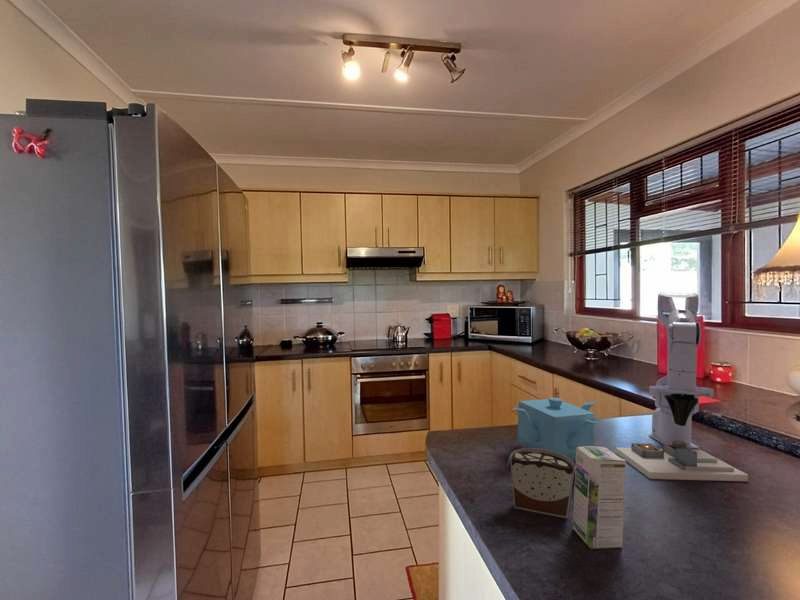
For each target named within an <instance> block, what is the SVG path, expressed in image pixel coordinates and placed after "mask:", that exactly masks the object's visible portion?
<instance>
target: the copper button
mask: <svg viewBox="0 0 800 600" xmlns="http://www.w3.org/2000/svg"><path fill="white" fill-rule="evenodd" d="M648 444H649V443H643V444H641V445H640V447H641V448H642V449H644V450H655V447H654V446H655V445H654V446H652V445H653V444H652V445H648Z"/></svg>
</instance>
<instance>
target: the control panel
mask: <svg viewBox="0 0 800 600" xmlns="http://www.w3.org/2000/svg"><path fill="white" fill-rule="evenodd" d="M641 444H644V443H637V442H635V443H632V442H631V447H615V453H614V454H616V455H617V456H619V457H620V458H621V459H624V460H626V463H627V464H630V465H631V466H632V467H633V468H635V469H636V470H637V471H639V472H640V473H642V475H644V476H645V477H647V478H648V479H650V480H676V481H677V480H679V481H680V480H681V481H683V480H684V481H686V480H687V481H712V482H713V481H719V482H720V481H721V482H723V481H724V482H748V481H749V474H747V473H746V472H743V471H742V470H740V469H738V468H736V467H734V466H732V465H730V464H729V463H727V462H725V461H722V460H721V459H719V458H716V456H713V455H712V454H709V453H707V452H705V451H704V450H701V449H692V448H688V447H687V450H689V451H691V452H693V453H695V454H696V455H697V466H683V465H682V464H680V463H678V462H677V461H675V457H676V450H675V449H673V448H672V444H662V448H659V447H658V446H656V445H654V444H653V443H647V444H648V445H652V446H654V447H655V450H644V449H642V448H641V447H640V445H641Z"/></svg>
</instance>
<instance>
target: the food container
mask: <svg viewBox="0 0 800 600" xmlns="http://www.w3.org/2000/svg"><path fill="white" fill-rule="evenodd" d="M507 460H508V461H507V466H509V464H510V473H511V484H512V485H511V488H512V496H513V497H512V499H513V508H514V509H517V510H523V511H528V512H533V513H539V514H544V515H549V516H552V517H553V516H554V517H559V518H564V519H568V517H569V515H568V514H569V509H570V502H571V497H572V490H573V483H574V478H575V467H576V463H573V461H572V460H571V459H569V458H568V457H566V456H564V455H562V454H560V453H557V452H554V451H550V450H546V449H539V448H527V447H523V448H522V447H521V448H517V449H516V450H515V449H514V451H512V452H511V453H510V455H509V457H508V459H507Z"/></svg>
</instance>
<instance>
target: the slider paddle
mask: <svg viewBox="0 0 800 600" xmlns="http://www.w3.org/2000/svg"><path fill="white" fill-rule="evenodd" d="M675 461H677V462H678V463H680V464H682V465H683V466H697V455H696V454H695V453H693V452H691V451H689V450H687V449H677V448H676V457H675Z"/></svg>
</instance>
